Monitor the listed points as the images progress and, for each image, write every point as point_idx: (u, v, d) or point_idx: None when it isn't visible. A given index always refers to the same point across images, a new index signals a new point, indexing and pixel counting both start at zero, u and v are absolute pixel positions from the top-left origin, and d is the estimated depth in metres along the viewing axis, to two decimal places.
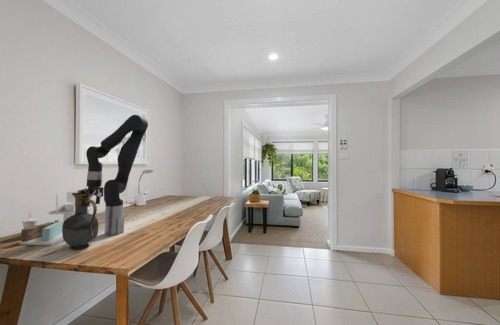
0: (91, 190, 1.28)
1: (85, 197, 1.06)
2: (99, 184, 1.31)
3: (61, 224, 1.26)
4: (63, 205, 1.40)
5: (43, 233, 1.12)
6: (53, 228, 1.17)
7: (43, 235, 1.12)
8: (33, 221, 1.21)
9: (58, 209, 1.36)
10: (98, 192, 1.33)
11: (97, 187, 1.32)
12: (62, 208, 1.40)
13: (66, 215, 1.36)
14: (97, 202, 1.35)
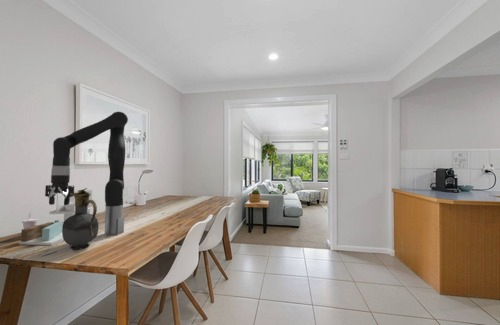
0: None
1: (85, 197, 1.06)
2: None
3: (61, 224, 1.26)
4: (64, 205, 1.41)
5: (43, 233, 1.12)
6: (53, 228, 1.17)
7: (43, 235, 1.12)
8: (33, 221, 1.21)
9: (58, 209, 1.36)
10: None
11: None
12: (62, 208, 1.40)
13: (66, 215, 1.37)
14: (52, 202, 1.15)
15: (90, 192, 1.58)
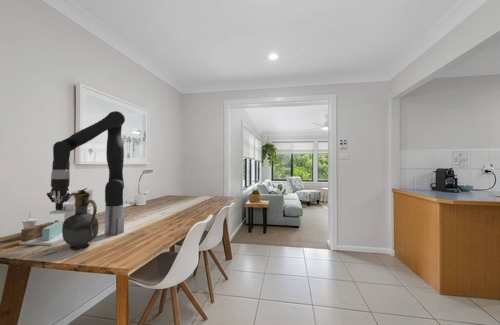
0: None
1: (85, 197, 1.06)
2: None
3: (61, 224, 1.26)
4: (64, 205, 1.42)
5: (43, 233, 1.12)
6: (53, 228, 1.17)
7: (43, 235, 1.12)
8: (33, 221, 1.21)
9: None
10: None
11: None
12: (63, 208, 1.41)
13: (67, 215, 1.37)
14: None
15: (91, 192, 1.59)
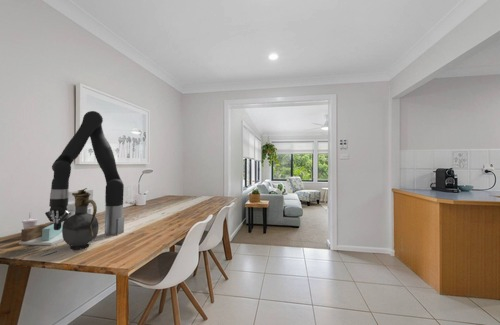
0: None
1: (85, 197, 1.06)
2: None
3: (61, 224, 1.26)
4: None
5: (43, 233, 1.12)
6: (53, 228, 1.17)
7: (43, 235, 1.12)
8: (33, 221, 1.21)
9: None
10: None
11: None
12: None
13: None
14: None
15: (91, 192, 1.59)
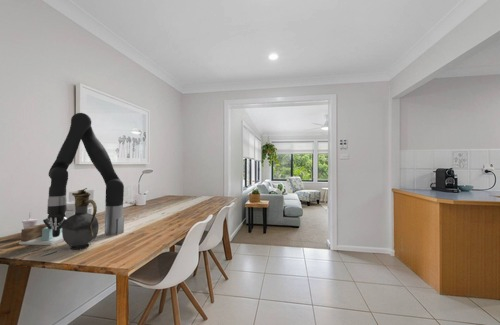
0: None
1: (85, 197, 1.06)
2: None
3: None
4: None
5: (43, 233, 1.12)
6: None
7: (43, 235, 1.12)
8: (33, 221, 1.21)
9: None
10: None
11: None
12: None
13: (68, 214, 1.38)
14: None
15: (92, 192, 1.60)
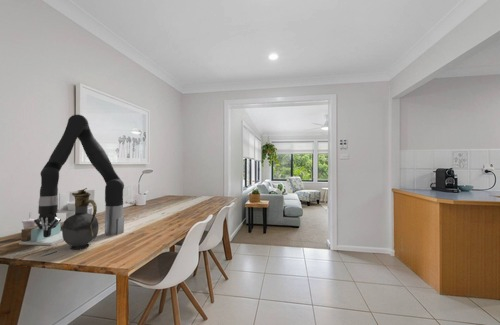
0: None
1: (85, 197, 1.06)
2: None
3: (58, 224, 1.24)
4: (66, 204, 1.44)
5: (32, 234, 1.11)
6: None
7: (32, 236, 1.11)
8: (33, 221, 1.21)
9: (61, 208, 1.39)
10: None
11: None
12: (65, 207, 1.43)
13: (68, 214, 1.39)
14: None
15: (92, 192, 1.61)
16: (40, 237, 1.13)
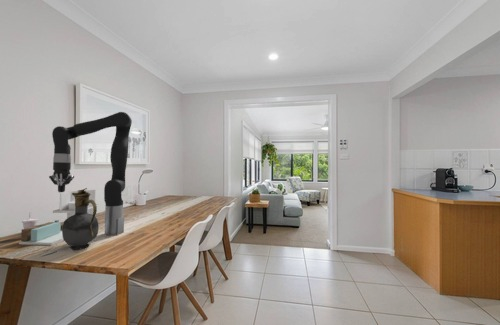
0: None
1: (85, 197, 1.06)
2: None
3: (58, 224, 1.24)
4: (67, 204, 1.45)
5: (32, 234, 1.11)
6: (44, 229, 1.15)
7: (32, 236, 1.11)
8: (33, 221, 1.21)
9: (62, 208, 1.40)
10: None
11: None
12: (66, 207, 1.44)
13: (69, 214, 1.40)
14: None
15: (93, 192, 1.62)
16: (40, 237, 1.13)
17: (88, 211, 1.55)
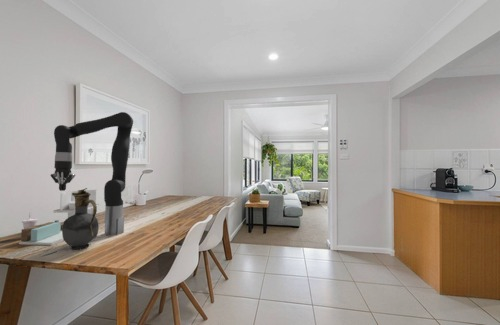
0: None
1: (85, 197, 1.06)
2: None
3: (58, 224, 1.24)
4: (68, 204, 1.46)
5: (32, 234, 1.11)
6: (44, 229, 1.15)
7: (32, 236, 1.11)
8: (33, 221, 1.21)
9: (62, 208, 1.41)
10: None
11: None
12: (67, 207, 1.45)
13: (70, 213, 1.41)
14: None
15: (94, 191, 1.63)
16: (40, 237, 1.13)
17: (89, 211, 1.55)
